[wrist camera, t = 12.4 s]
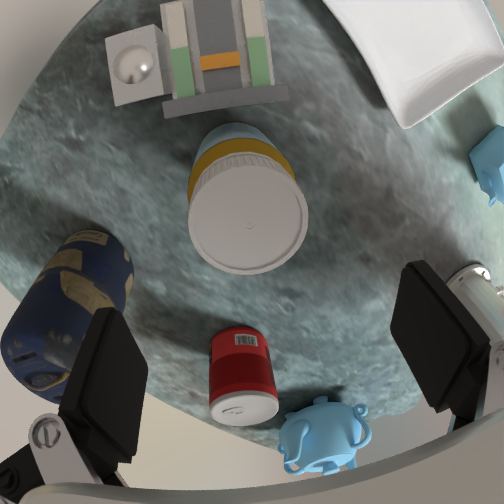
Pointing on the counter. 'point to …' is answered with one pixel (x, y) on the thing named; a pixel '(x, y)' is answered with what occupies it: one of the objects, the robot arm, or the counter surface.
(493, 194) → the teapot
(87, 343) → the robot arm
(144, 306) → the counter surface
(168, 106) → the grey t-shaped piece
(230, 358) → the canned food
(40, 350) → the canister
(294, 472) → the teapot
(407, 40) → the salad plate
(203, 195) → the bottle
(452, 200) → the counter surface
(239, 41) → the gauge body
